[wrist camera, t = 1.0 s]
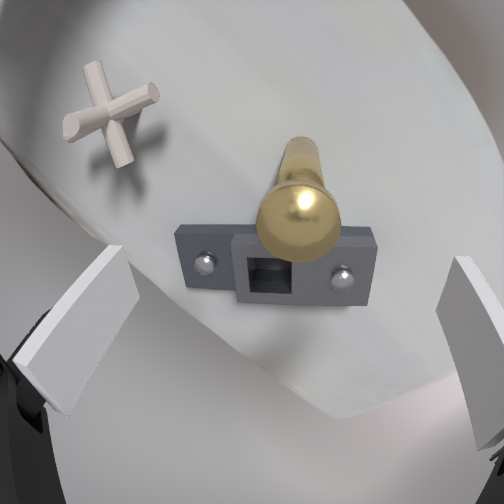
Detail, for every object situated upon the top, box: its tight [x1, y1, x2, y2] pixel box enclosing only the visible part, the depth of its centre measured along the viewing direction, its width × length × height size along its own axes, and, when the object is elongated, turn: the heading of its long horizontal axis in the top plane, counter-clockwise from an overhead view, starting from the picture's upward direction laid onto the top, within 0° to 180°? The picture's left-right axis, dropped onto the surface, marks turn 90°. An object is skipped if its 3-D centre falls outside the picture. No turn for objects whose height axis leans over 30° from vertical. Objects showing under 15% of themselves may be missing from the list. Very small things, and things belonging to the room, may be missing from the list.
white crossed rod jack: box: [62, 60, 159, 168], centre depth 22 cm, size 10×10×10 cm
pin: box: [256, 137, 341, 263], centre depth 20 cm, size 4×4×15 cm
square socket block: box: [174, 225, 378, 306], centre depth 31 cm, size 7×20×5 cm, turn 94°
